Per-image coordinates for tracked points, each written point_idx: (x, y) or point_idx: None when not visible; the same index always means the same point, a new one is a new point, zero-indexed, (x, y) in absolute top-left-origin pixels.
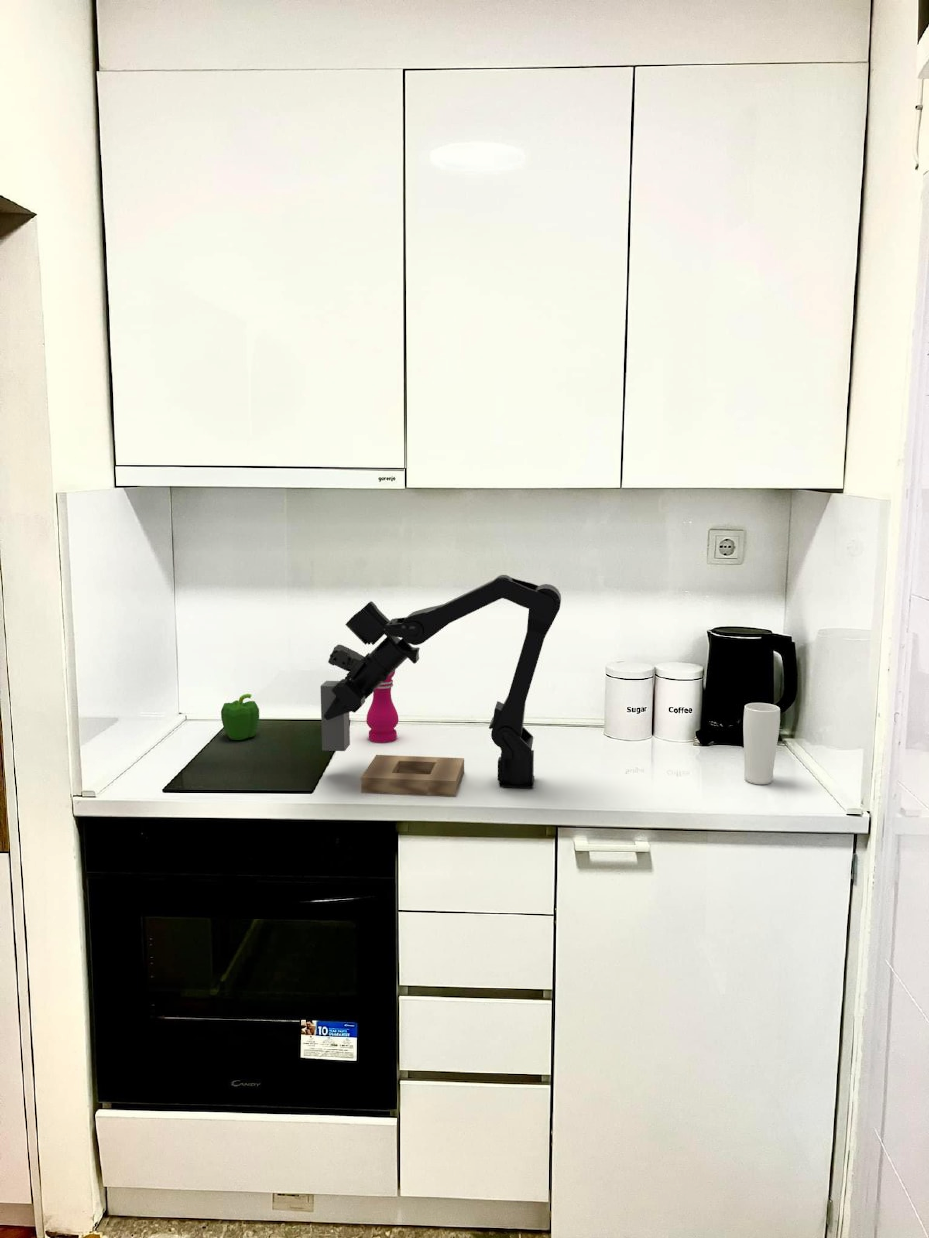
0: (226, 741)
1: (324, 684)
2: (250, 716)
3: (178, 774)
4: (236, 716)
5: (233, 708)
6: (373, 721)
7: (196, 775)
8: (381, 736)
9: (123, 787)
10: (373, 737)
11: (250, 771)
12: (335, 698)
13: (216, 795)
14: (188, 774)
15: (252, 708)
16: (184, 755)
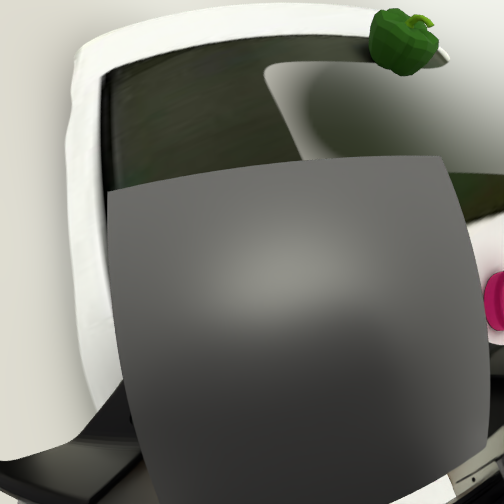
0: (362, 50)
1: (225, 206)
2: (404, 47)
3: (183, 49)
4: (381, 29)
5: (389, 17)
6: None
7: (182, 67)
8: (493, 311)
9: (123, 36)
10: (490, 292)
11: (225, 124)
12: (85, 431)
13: (86, 141)
14: (185, 57)
15: (415, 39)
16: (274, 26)
